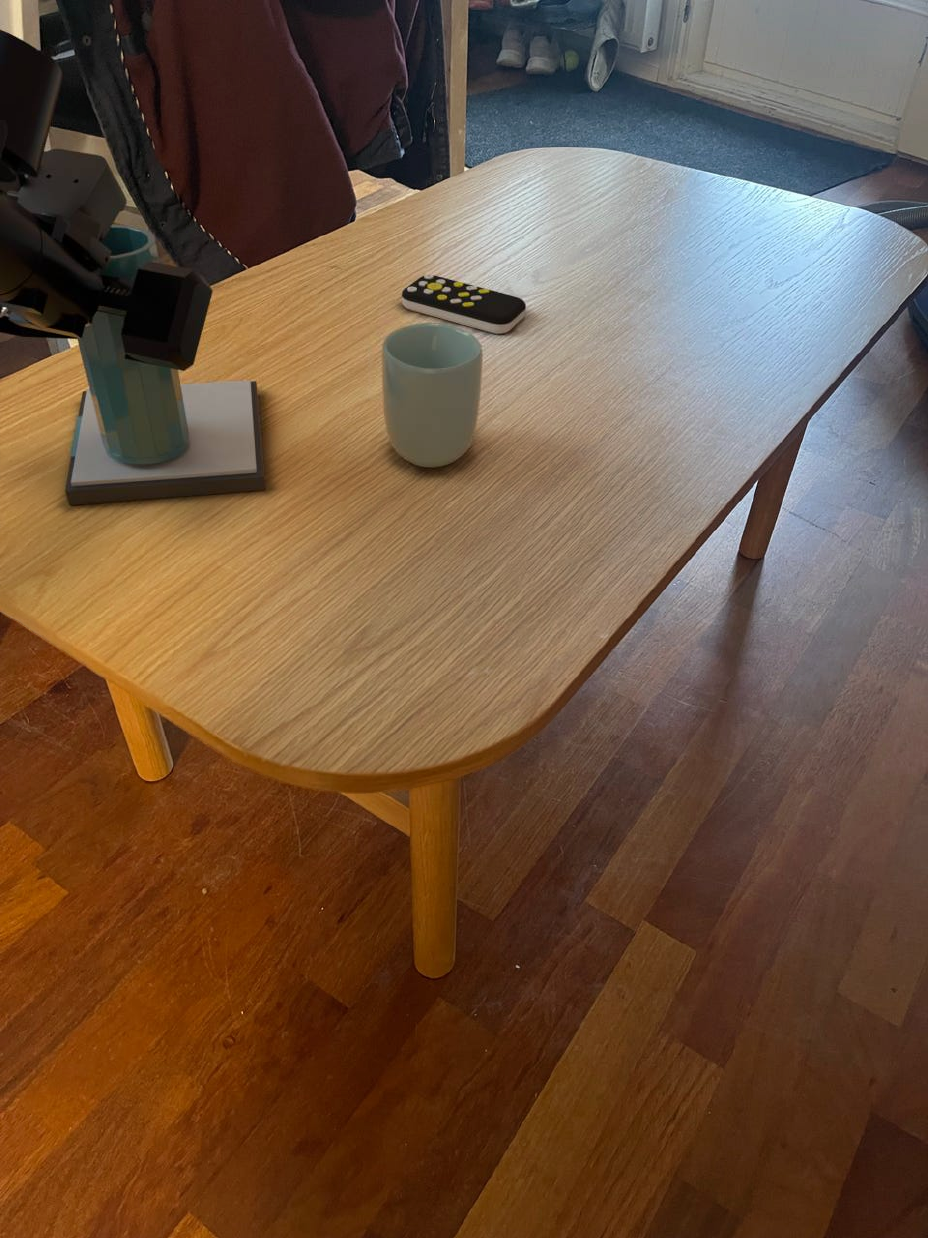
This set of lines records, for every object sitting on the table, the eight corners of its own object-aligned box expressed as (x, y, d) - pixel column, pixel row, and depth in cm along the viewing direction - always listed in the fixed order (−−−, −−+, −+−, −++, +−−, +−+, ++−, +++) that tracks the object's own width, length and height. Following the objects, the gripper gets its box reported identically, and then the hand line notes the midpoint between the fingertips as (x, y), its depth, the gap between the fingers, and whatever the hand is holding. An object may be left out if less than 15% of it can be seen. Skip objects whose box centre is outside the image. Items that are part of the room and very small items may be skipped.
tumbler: (150, 473, 73) (107, 265, 62) (86, 449, 75) (34, 245, 64) (206, 436, 77) (175, 236, 67) (144, 414, 79) (104, 218, 69)
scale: (68, 505, 73) (63, 486, 72) (86, 404, 84) (81, 386, 82) (265, 490, 76) (263, 471, 74) (257, 394, 86) (255, 376, 85)
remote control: (504, 338, 96) (506, 320, 95) (396, 308, 100) (396, 290, 99) (529, 315, 100) (531, 296, 99) (424, 286, 104) (424, 269, 103)
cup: (366, 448, 81) (362, 339, 74) (436, 419, 85) (439, 313, 78) (423, 491, 77) (425, 380, 70) (494, 458, 80) (502, 350, 74)
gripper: (173, 140, 54) (275, 258, 70) (-98, 97, 58) (56, 218, 73) (124, 326, 54) (238, 404, 70) (-144, 271, 58) (20, 357, 73)
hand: (136, 340), depth 71 cm, fingers closed on tumbler, 7 cm apart
